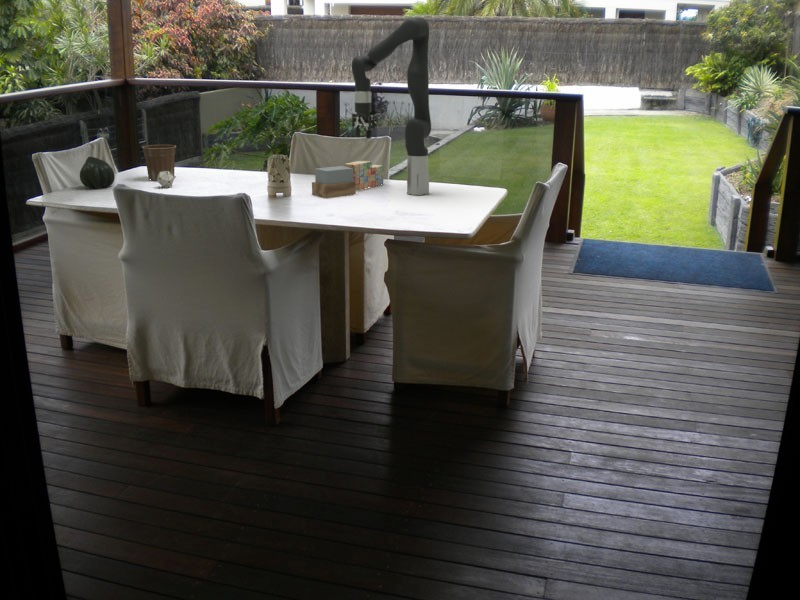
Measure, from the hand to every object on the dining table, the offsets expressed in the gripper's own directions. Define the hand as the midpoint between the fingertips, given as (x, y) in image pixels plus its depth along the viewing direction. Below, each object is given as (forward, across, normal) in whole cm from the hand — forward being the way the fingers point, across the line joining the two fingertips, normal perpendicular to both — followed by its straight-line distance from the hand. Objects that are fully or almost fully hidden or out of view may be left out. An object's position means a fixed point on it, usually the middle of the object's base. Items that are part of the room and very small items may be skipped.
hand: (363, 137), depth 391 cm
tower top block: (+17, -7, +22) cm, 29 cm away
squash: (+23, +74, +98) cm, 125 cm away
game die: (+23, +55, +73) cm, 95 cm away
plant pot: (+23, +78, +65) cm, 105 cm away
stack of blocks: (+23, 0, 0) cm, 23 cm away
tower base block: (+23, -7, +22) cm, 33 cm away
